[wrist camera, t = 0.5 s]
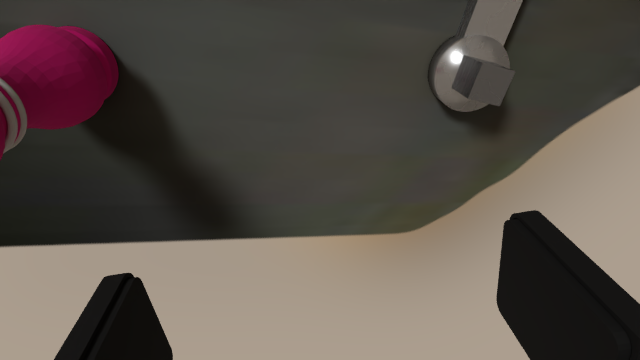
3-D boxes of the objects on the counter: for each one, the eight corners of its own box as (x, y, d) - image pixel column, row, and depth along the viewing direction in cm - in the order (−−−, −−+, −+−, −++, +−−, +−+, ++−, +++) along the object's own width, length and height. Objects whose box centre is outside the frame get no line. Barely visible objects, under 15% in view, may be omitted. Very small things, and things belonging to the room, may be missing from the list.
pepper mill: (144, 75, 34) (-13, 184, 16) (85, 124, 35) (-119, 275, 17) (72, -1, 31) (-219, 29, 13) (12, 56, 32) (-324, 154, 14)
